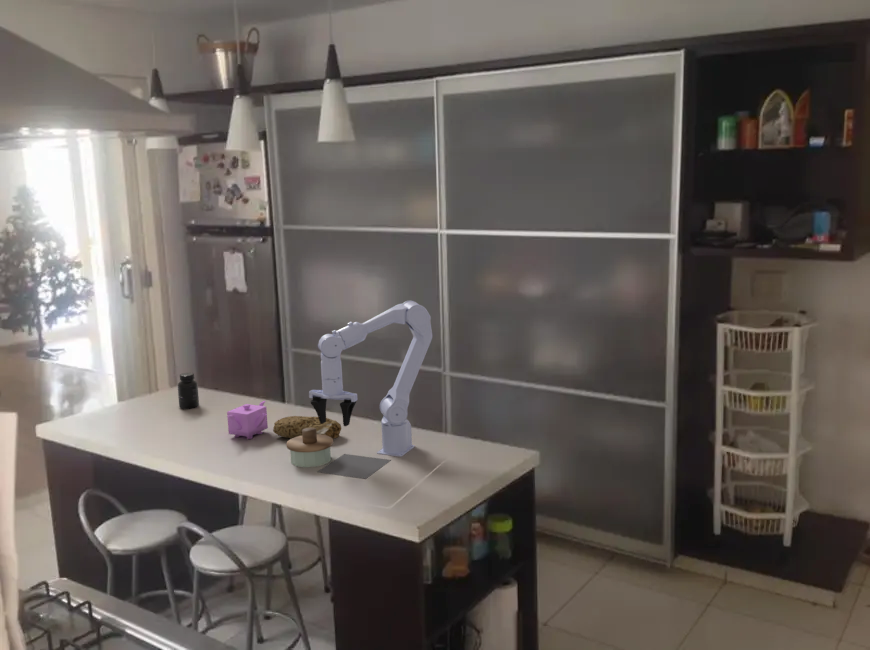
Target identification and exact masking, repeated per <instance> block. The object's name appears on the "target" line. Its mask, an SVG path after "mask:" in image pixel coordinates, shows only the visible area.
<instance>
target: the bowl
mask: <svg viewBox="0 0 870 650" xmlns="http://www.w3.org/2000/svg"><path fill="white" fill-rule="evenodd" d="M289 451H290V452H289V453H290V463H291V465H293V466H295V467H299V468H300V467H301V468H316V467H320V466H324V465H327V464H329V463H330V462H332V461H331V459H332V458H331V447H329V448H327V449H324V450H321V451H316V452H295V451H291V450H289Z"/></svg>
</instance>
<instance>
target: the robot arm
mask: <svg viewBox="0 0 870 650" xmlns="http://www.w3.org/2000/svg"><path fill="white" fill-rule="evenodd" d="M431 319H432V316H431V315H430V313H429V311H428V310H427V308H426V307H425V306H424V305H422V304H419V303H418V302H416V301H415V300H406V301H404V302H403V303H398V304H396V305H394V306H392V307H390V308H388V309H387V310H385V311H383V312H381V313H379V314H378V315H375V316H373V317H372V318H370V319H368V320H366V321H364V322H359V321H355V322H352V321H349V322H347V324H346V326H344V327H342V328H339V329H338V330H336V329H334V330H331V333H326V334H325V333H324V335H322V336H321V337H320V338H319V340H318V343H317V348H318V350H319V351H320V360H321V361H320V373H321V374H320V375H321V388H322V389H311V390H309V391H308V397H309V399H312V400H310V404H311V406H312V407H313V410H315V413H316V414H317V417H318V418H319V421H320V424H323V423H325V422H326V418H327V411H326V410H327V400H336V401H342V402H340V403H339V406H340V409H341V413H342V424H343V427H347V426H349V425H350V422H351V417H352V412H353V410H354V407H355V405H356V403H357V401H358V400H359V399H358V393H356V392H355V393H354V392H350V391H346V390H344V385H343V384H344V381H343V370H342V369H343V368H342V359H341V358H342V357H341V353H342V352H343V350H347V349H349V348H351V347H353V346H355V345H357V344H360V343H361V342H363V341H365V340H366V338H367V335H368V334H371V333H373V332H374V331H375V332H376V331H378V330H380V329H382V328H385V327H386V326H388V325H389V326H390V325H392V324H399V325H407V326H408V328H409V330H410V332H411V334H412V340H411V342H410V344H409V346H408V349H407V351H406V354H405V357H404V358H403V359H404V360H402V361H403V362H402V363H401V367H400V368H399V371H398V374H397V376H396V378H395V381H394V383H393V386H391V388H390V389H389V390H388V391H387V394H386V396H384V397H383V398H382V400H380V403H379V410H380V413H381V414H382V415H383V417H382V418H381V422H380V423H381V425H380V426H381V443H382V445H381V446H382V448H381V449H380V450H378V451H377V452H376V454H378V455H385V456H393V457H403V456H404V455H406V454H407V453H408V452H410V451H411V450H413V448H415V445H414V444H413V439H412V438H413V437H412V434H413V433H412V430H413V429H412V424H411V423H410V421H409V419H408V416H409V415H408V414H409V413H408V412H409V411H408V407H409V406H410V394H411V391H412V388H413V386H414V383H415V382H416V379H417V377H418V374H419V371H420V369H421V367H422V365H423V362H424V360H425V357H426V354H427V352H428V349H429V347H430V345H431V342H432V340H433V331H432V323H431V321H432V320H431Z"/></svg>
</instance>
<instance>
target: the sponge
mask: <svg viewBox="0 0 870 650" xmlns="http://www.w3.org/2000/svg"><path fill="white" fill-rule="evenodd" d="M305 428H316V432H317V434H319V435H326V436H329V437H331V438H332V439H333V440H334V439H337V438H339V437H340V433H341V432H342V426H341V423H340V422H338V421H337V420H334V419H331V418H328V417H326V422H325V423H323V424H320V421H319V418H318V416H303V415H302V416H301V415H293V416H285V417H283V418H282V417H281V418H279V419H277V420H276V421H275V422H274V425H273V429H272V432H273V433H274V434H275V435H277V436H278V437H283V438H289V439H292V438H295V437H298V436H302V430H303V429H305Z"/></svg>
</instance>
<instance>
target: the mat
mask: <svg viewBox="0 0 870 650" xmlns="http://www.w3.org/2000/svg"><path fill="white" fill-rule="evenodd" d="M390 461H392V459H387V458H378V457H371V456H363V455H355V454H350V453H349V454H348V453H344V454H342V455H340V456H339V457H338V458H335V459H334V460H332V461H330V462H329V463H327V464H326V466H324V467H322V468H321V469H319V470H318V471H316V472H317V473H320V474H326V475H327V474H328V475H335V476H343V477H347V478H348V477H349V478H356V479H363V480H364V479H365V480H366V479H368V478H369V477H370V476H373V474H375V473H376V472H377V471H379V470H380V469H381V468H383V467H384V466H385V465H387V464H388V463H389V462H390Z"/></svg>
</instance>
